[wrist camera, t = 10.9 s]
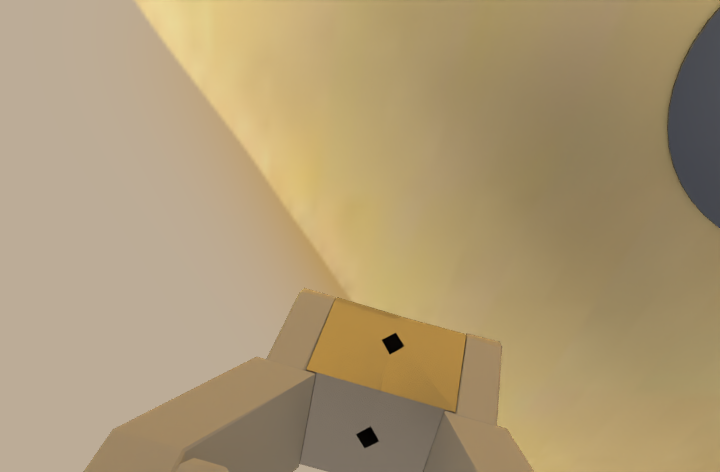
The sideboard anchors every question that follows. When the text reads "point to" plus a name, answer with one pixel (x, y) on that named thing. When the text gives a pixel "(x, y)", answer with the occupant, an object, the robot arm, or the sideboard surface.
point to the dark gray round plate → (698, 121)
